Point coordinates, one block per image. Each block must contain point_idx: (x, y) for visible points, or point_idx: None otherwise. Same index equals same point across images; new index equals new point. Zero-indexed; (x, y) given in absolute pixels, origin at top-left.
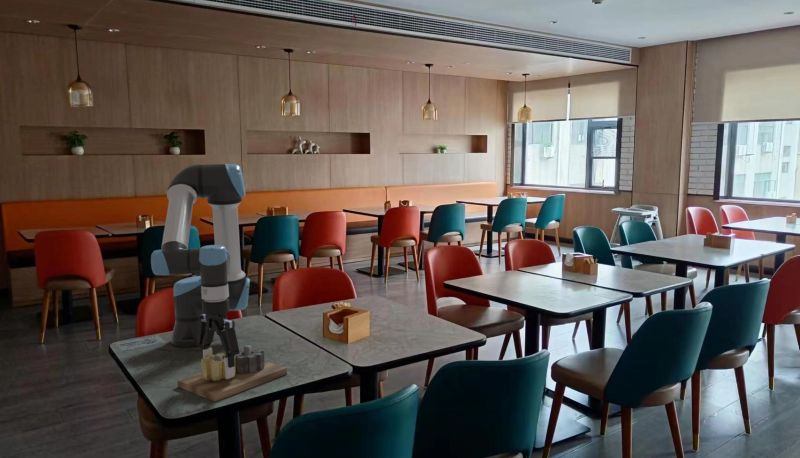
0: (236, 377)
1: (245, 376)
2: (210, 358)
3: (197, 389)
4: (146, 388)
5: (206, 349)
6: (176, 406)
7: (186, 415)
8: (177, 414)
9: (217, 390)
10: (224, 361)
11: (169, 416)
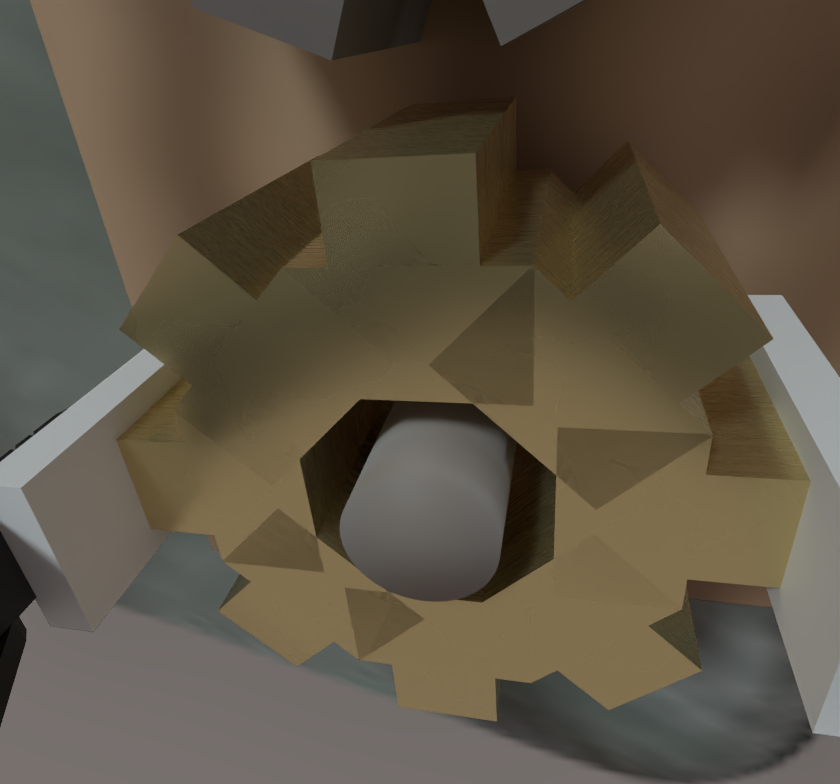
0: (646, 146)
1: (756, 8)
2: (343, 580)
3: None
4: (121, 597)
5: (60, 589)
6: (577, 690)
7: (784, 748)
8: (706, 754)
9: None
10: (780, 630)
11: (683, 780)
